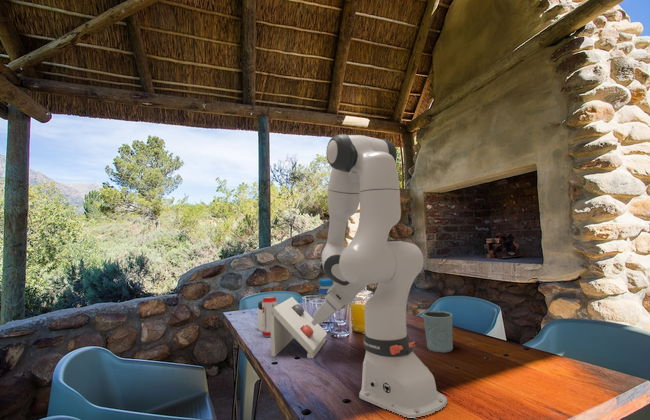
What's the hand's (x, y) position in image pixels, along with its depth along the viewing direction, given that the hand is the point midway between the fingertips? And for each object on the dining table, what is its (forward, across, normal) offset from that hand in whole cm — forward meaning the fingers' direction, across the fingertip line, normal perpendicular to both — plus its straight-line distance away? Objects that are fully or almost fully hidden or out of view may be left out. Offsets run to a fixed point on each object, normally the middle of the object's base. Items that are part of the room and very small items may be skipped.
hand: (313, 323), depth 121 cm
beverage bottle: (+11, -42, +4) cm, 43 cm away
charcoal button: (+6, -8, -6) cm, 11 cm away
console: (+11, -4, +3) cm, 12 cm away
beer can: (+24, -17, -10) cm, 31 cm away
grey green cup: (-24, -9, +38) cm, 46 cm away
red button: (+6, 0, +2) cm, 6 cm away
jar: (+28, -26, -13) cm, 40 cm away
